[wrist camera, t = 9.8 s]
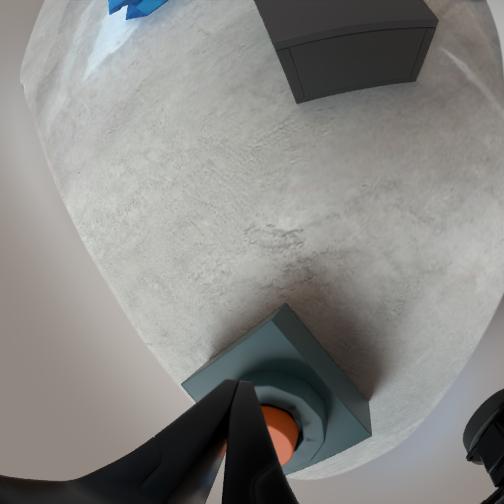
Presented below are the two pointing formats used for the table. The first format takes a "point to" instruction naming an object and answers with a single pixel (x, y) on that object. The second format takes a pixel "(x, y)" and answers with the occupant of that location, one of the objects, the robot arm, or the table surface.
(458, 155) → the table surface
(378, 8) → the lid
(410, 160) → the table surface
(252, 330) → the control block
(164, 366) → the table surface
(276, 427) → the button
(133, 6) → the crystal
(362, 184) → the table surface
